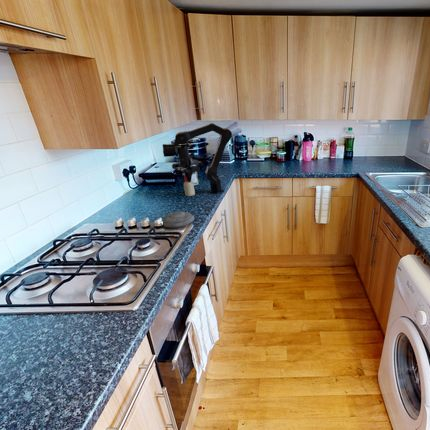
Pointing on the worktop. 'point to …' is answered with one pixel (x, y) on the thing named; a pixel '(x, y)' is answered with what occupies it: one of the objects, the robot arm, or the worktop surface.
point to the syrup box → (195, 178)
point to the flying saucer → (177, 219)
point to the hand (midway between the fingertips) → (187, 181)
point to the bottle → (189, 188)
